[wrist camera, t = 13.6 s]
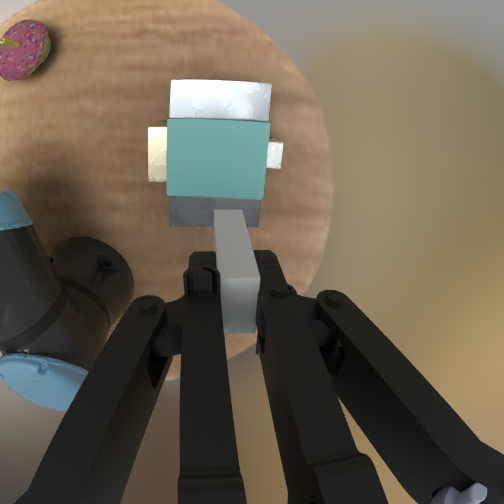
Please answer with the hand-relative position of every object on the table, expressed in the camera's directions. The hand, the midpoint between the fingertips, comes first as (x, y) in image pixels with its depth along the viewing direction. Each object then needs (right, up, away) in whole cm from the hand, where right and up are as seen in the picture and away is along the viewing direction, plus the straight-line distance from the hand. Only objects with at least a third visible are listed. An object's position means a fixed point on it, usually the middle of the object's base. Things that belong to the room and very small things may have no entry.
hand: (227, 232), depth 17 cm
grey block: (-3, +13, +21) cm, 24 cm away
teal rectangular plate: (-2, +9, +13) cm, 16 cm away
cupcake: (-28, +26, +10) cm, 39 cm away
